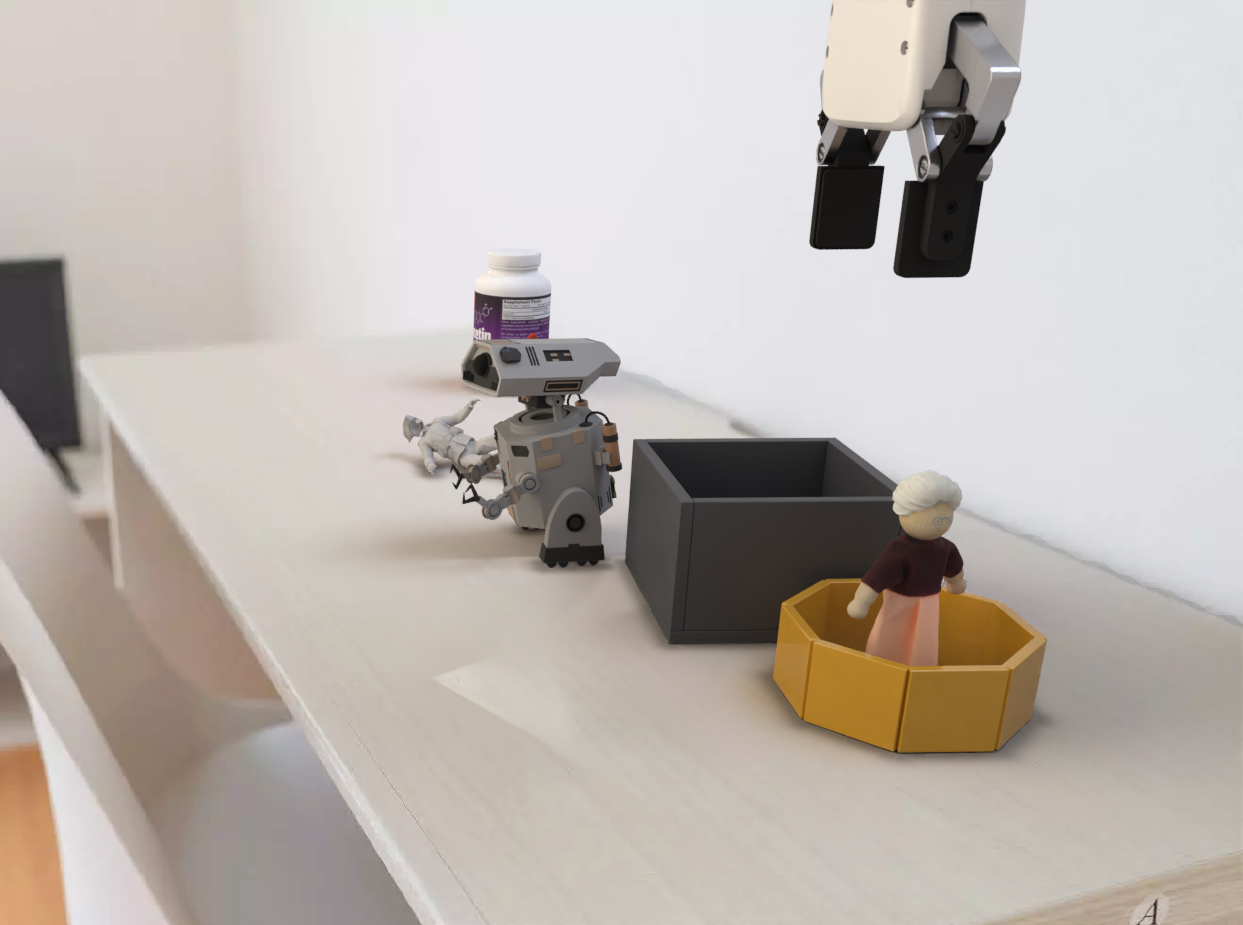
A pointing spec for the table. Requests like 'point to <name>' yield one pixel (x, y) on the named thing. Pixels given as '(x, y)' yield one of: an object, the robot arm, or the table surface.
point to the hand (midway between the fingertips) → (882, 261)
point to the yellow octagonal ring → (909, 673)
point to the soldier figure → (449, 439)
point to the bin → (748, 529)
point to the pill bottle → (512, 297)
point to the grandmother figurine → (913, 573)
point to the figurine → (548, 441)
